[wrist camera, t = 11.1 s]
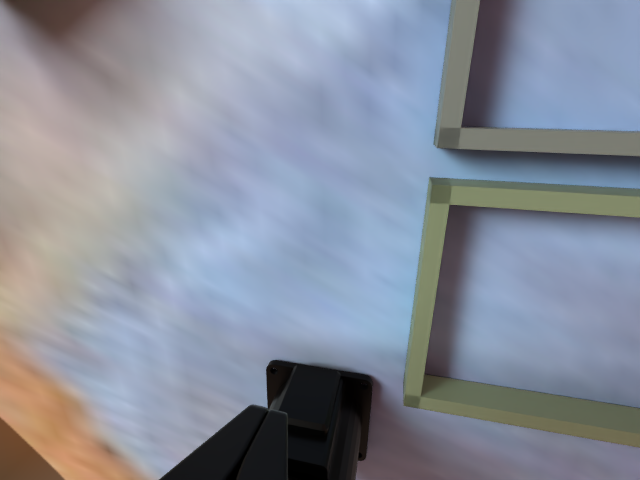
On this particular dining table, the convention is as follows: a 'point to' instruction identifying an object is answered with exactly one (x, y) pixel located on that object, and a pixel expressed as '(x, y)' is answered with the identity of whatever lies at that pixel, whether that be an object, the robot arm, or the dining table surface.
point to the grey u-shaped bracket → (489, 399)
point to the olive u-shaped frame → (505, 138)
